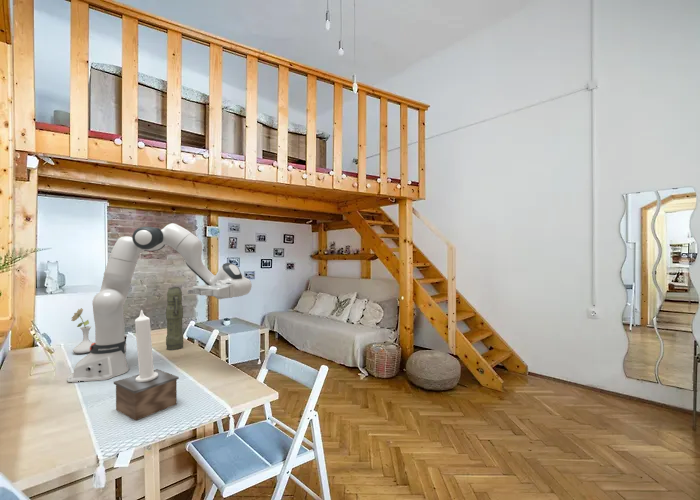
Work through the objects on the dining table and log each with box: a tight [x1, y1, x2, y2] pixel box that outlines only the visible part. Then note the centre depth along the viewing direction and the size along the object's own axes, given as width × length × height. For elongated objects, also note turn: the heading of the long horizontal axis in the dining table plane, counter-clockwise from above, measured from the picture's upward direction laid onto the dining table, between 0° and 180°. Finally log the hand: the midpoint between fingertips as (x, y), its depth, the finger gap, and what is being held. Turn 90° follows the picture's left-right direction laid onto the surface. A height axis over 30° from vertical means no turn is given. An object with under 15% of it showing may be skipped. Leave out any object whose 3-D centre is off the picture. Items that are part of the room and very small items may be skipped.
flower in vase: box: [70, 308, 94, 354], centre depth 187 cm, size 13×11×25 cm
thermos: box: [165, 286, 184, 351], centre depth 195 cm, size 9×12×35 cm
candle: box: [134, 309, 158, 382], centre depth 121 cm, size 7×7×25 cm
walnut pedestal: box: [113, 368, 180, 421], centre depth 122 cm, size 15×15×10 cm
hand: (194, 292), depth 148 cm, fingers open, 8 cm apart
